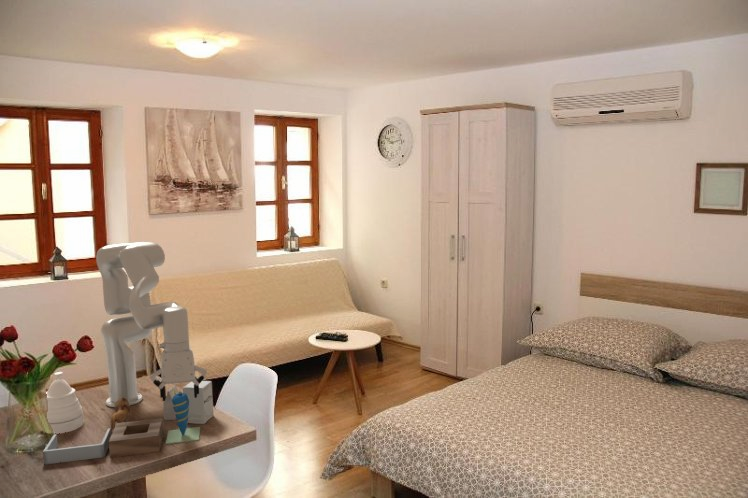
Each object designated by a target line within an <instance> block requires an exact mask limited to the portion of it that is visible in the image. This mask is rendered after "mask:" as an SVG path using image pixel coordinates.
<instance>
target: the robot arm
mask: <svg viewBox="0 0 748 498" xmlns="http://www.w3.org/2000/svg"><path fill="white" fill-rule="evenodd" d="M165 255H166V254H165V252H164V250H163V248H162V246H161V245H159V244H158V243H156V242H148V241H147V242H145V241H140V242H139V241H137V242H129V243H119V244H118V243H117V244H109V245H105V246H102V247H101V248H99V249H98V250H97V252H96V257H95V258H96V259H95V261H96V265H97V269H98V270H99V273H100V276H101V280H102V290H103V291H102V292H103V305H104V310H105V312H106V313H107V315H109V316H120V317H117V318H116V317H115V318H112V319H109V320H107V321H105V322H104V323H103V324H102V325H101V329H100V330H101V336H102V340H103V343H104V348H105V354H106V364H107V365H106V367H107V377H108V386H109V388H108V389H109V397H108V398H107V399H105V400H106V401H105V404H106V406H107V407H110V408H116V407H115V406H114V404H115V403H116V402H117V400H118V399H119V398H121V397H124V398H126V399H127V400H128V402H129V406H133V405H136V404H139V403H140V402H141V401H142V400H143V395H142V394H141V393H139V392H138V384H137V383H138V382H137V369H136V357H135V352H134V351H133V349H132V348H131V347H129V346H128V344H127V343H131V342H136V341H141V340H143V339H147V338H149V337H150V336H151V334H152V331H153V330H155V329H157V328H158V329H159V328H163V342H162V343H159V344H158V345H159V349H163V350H162V351H161V359H160V368H159V369H158V370H156V371H154V372H153V373H151V374H150V375H149V379H150V380H151V381H152V383H153V385H155V386H156V387H157V388H158V389H159V392H160V393H159V394H160V395H159V396H160V398H161V399H162V401H163V402H164V401H165V399H166V396H167V393H166V392H167V391H166V384H179V383H190V382H193V383H194V398H197V394H199V384H200V383H201V382H202V381H204V379H205V377H206V375H207V372H208V370H207V369H206V368H203V367H201V366H198V365H197V364H196V363H195V356H194V352H193V349H192V347H190V335H189V314H188V310H187V308H186V307H184V306H181V305H180V304H178V303H177V302H175V301H168V302H162V303H161V302H160V303H157V304H155V303H154V304H152V302H151V301H152V300H151V296H150V291H152V290H153V289H154V288H156V286H158V285H159V282H160V276H159V274H158V272H157V271H156V269H155V268H158V267H161V266H162V265H164V263H165V260H166V256H165ZM128 278H129V279H128ZM129 280H130V282H131V284H132V286H129ZM126 314H131V315H126ZM121 315H126V316H121ZM196 372H198V373H200V375H199V376H198V377H197V376H196ZM158 376H161V377H160V378H161V381H160V379H157V377H158Z"/></svg>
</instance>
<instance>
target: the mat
mask: <svg viewBox="0 0 748 498" xmlns="http://www.w3.org/2000/svg"><path fill="white" fill-rule="evenodd" d="M200 433H201V426H196V427H195V426H194V427H187V429H186V431H185V434H184V435H182V434H181V431H180V429H179V428H178V429H169V430H168V432H167V436H166V440H165V445H173V444H179V443H180V444H181V443H182V444H183V443H190V442H197V441H200V435H201V434H200Z"/></svg>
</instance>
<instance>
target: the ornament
mask: <svg viewBox="0 0 748 498" xmlns="http://www.w3.org/2000/svg"><path fill="white" fill-rule="evenodd" d="M178 391H179V393H178V394H176V395H174V396H173V398H172V403H173V405H174V406H173V409H174V411H175V413H176V414H175V416H176V420H177V422H176V424H177V427H178V429H180V431H181V434H182V435H184V434H185V431H186V429H187V428H188V423H187V422H188V413H189V408H188V406H189V399H188V396H187V395H186V394H185V393H183V390H178Z"/></svg>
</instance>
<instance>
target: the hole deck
mask: <svg viewBox="0 0 748 498" xmlns="http://www.w3.org/2000/svg"><path fill="white" fill-rule="evenodd" d="M164 433H165V432H164V421H163V417H162V418H161V417H160V418H153V419H144V420H143V419H142V420H134V421H129V422H124V421H123V423H117V422H116V423H115V428H114V431H113V433H112V435H111V437H110V440H109V448H108V450H109V458H115V457H125V456H134V455H142V454H149V453H150V454H151V453H157V452H158V453H159V452H160V449H161V446H162V442H163V437H164Z"/></svg>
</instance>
